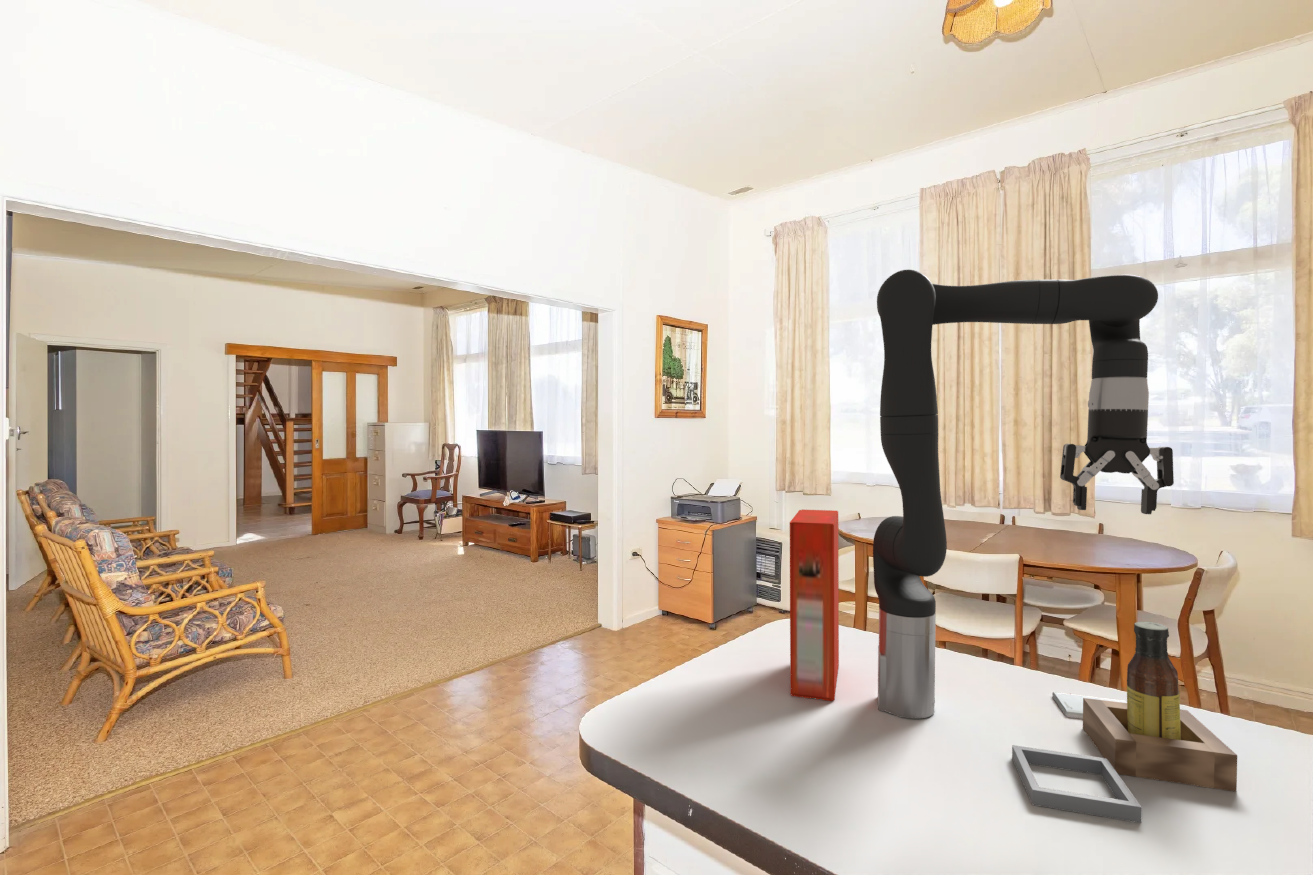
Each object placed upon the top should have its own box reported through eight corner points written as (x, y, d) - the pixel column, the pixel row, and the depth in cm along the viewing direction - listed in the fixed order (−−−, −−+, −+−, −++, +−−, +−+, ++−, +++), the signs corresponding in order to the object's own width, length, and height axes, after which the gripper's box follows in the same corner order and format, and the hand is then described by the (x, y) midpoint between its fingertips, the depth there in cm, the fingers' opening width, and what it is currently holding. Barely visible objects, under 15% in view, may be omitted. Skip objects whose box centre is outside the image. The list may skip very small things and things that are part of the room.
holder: (1114, 773, 90) (1115, 738, 90) (1082, 728, 103) (1083, 697, 103) (1236, 791, 85) (1237, 755, 85) (1186, 741, 99) (1187, 710, 99)
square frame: (1032, 804, 83) (1032, 789, 82) (1012, 758, 94) (1012, 744, 94) (1141, 822, 79) (1141, 807, 79) (1106, 772, 90) (1106, 758, 90)
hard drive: (1066, 710, 107) (1153, 720, 103) (1052, 690, 115) (1132, 699, 111) (1066, 720, 107) (1153, 730, 103) (1052, 699, 115) (1132, 708, 111)
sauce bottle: (1173, 751, 96) (1176, 622, 95) (1187, 772, 90) (1190, 634, 90) (1120, 742, 98) (1123, 616, 98) (1130, 762, 93) (1133, 628, 92)
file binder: (788, 695, 115) (789, 521, 115) (798, 661, 132) (799, 508, 131) (834, 701, 113) (835, 523, 112) (838, 666, 129) (839, 510, 128)
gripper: (1071, 406, 97) (1067, 511, 97) (1184, 407, 92) (1179, 518, 93) (1058, 408, 104) (1054, 506, 104) (1162, 409, 99) (1158, 512, 100)
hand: (1113, 511), depth 99 cm, fingers open, 8 cm apart
